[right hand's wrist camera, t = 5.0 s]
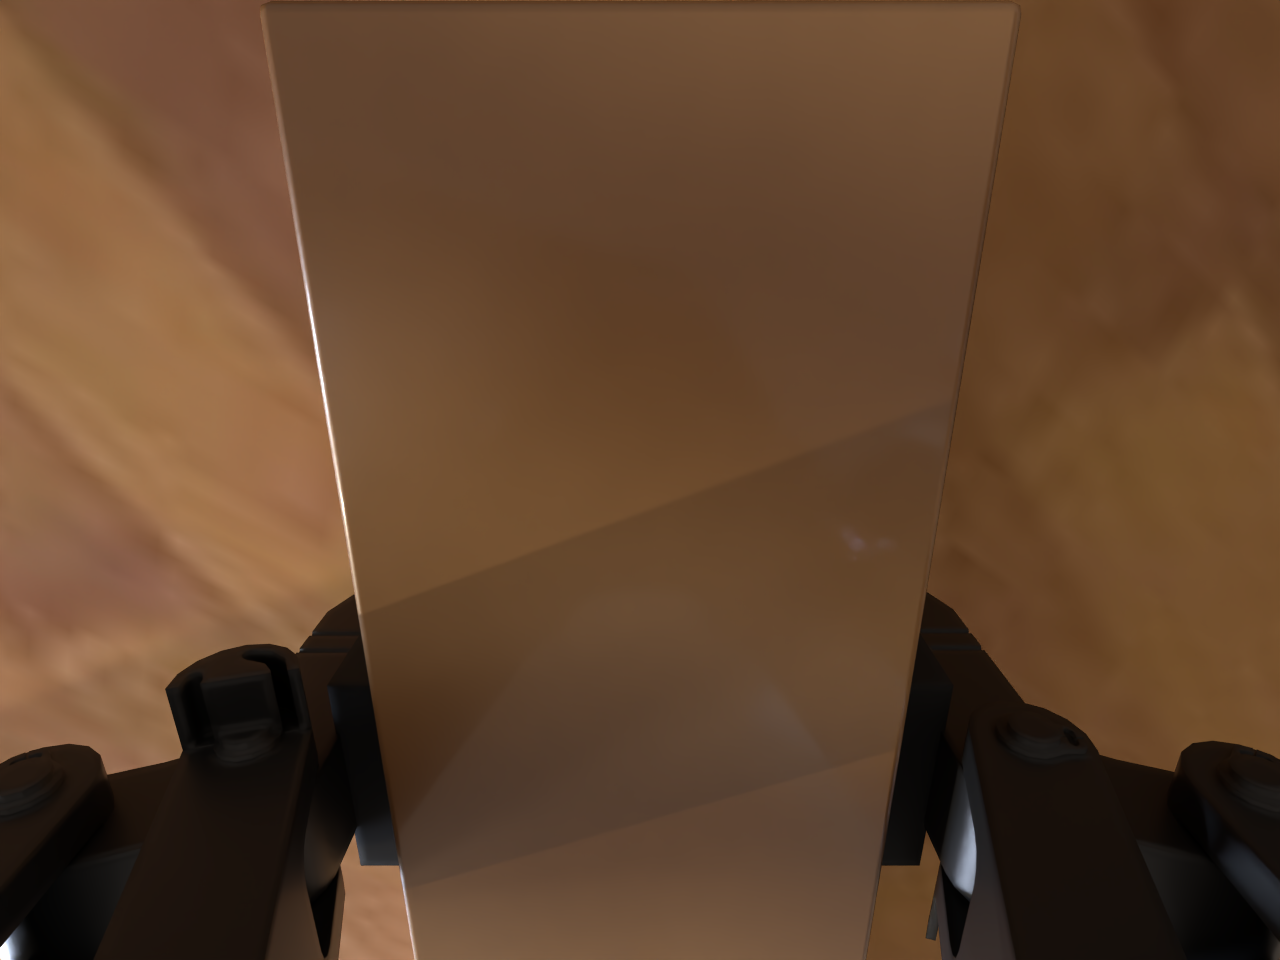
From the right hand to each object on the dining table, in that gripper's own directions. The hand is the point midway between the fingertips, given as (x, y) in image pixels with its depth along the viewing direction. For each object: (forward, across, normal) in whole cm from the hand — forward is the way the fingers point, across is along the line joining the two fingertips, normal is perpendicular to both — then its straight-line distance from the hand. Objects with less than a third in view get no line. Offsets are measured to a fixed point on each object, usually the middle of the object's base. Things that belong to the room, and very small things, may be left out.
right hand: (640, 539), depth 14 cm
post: (+1, 0, -33) cm, 33 cm away
